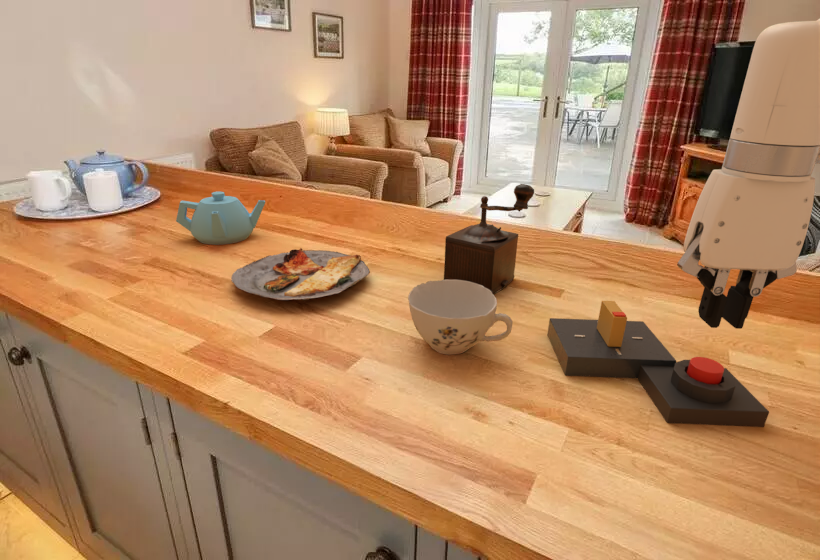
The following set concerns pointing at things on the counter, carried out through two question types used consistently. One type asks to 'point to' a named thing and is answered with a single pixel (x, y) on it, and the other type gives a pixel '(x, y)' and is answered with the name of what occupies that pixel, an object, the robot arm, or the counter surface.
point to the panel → (605, 349)
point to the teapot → (219, 219)
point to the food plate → (300, 274)
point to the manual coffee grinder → (485, 248)
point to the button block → (700, 398)
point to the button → (705, 370)
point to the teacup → (455, 314)
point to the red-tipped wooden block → (611, 323)
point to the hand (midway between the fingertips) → (719, 321)
